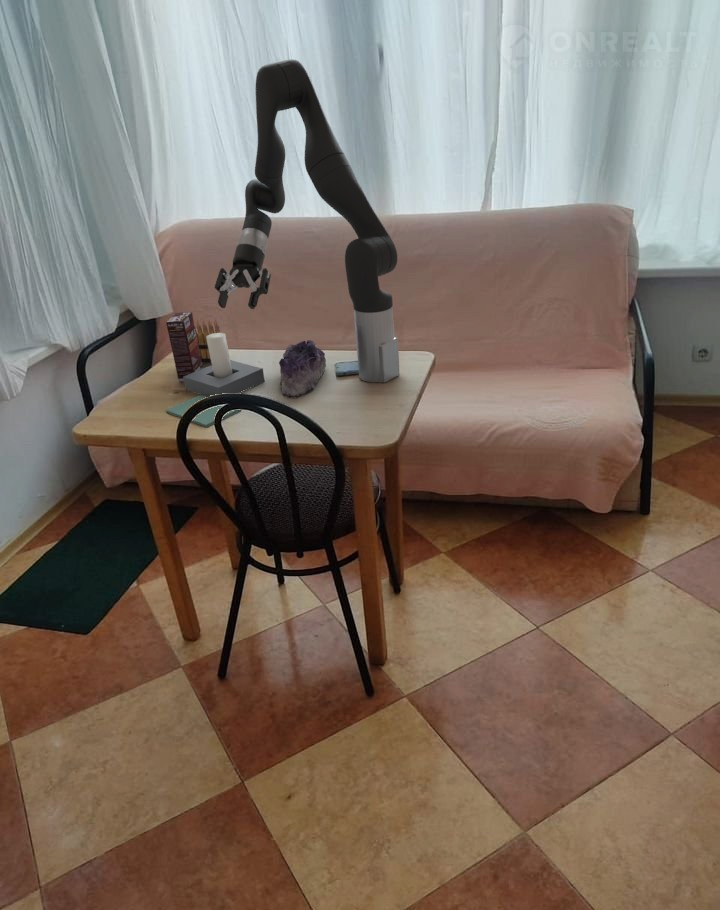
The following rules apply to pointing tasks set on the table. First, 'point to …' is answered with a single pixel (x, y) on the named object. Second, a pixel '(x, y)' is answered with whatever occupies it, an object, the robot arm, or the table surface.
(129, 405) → the table surface
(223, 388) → the grey square socket block
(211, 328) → the ammunition clip
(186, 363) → the supplement box
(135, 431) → the table surface
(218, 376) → the plug
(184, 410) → the mat
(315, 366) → the geode
